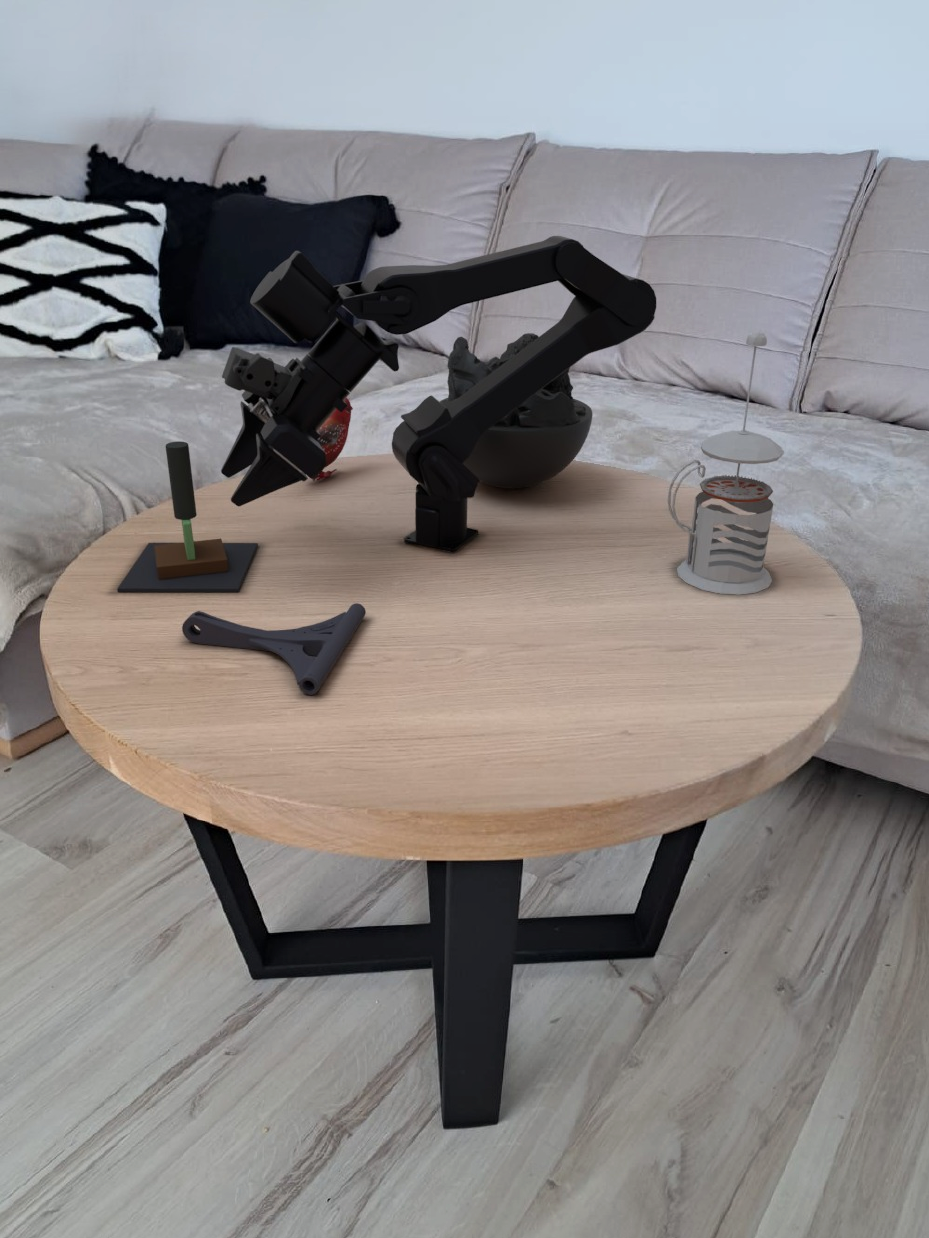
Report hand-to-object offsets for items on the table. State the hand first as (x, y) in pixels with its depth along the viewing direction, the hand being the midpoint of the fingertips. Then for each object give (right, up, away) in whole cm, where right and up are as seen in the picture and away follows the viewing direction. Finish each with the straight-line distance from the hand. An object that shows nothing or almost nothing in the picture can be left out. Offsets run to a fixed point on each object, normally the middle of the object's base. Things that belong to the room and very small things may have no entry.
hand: (229, 488), depth 102 cm
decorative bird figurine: (+5, +4, +27) cm, 28 cm away
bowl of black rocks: (+30, +4, +28) cm, 41 cm away
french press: (+51, -9, +2) cm, 52 cm away
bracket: (+6, -16, -13) cm, 22 cm away
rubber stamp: (-4, -8, +2) cm, 9 cm away
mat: (-5, -8, +2) cm, 10 cm away
